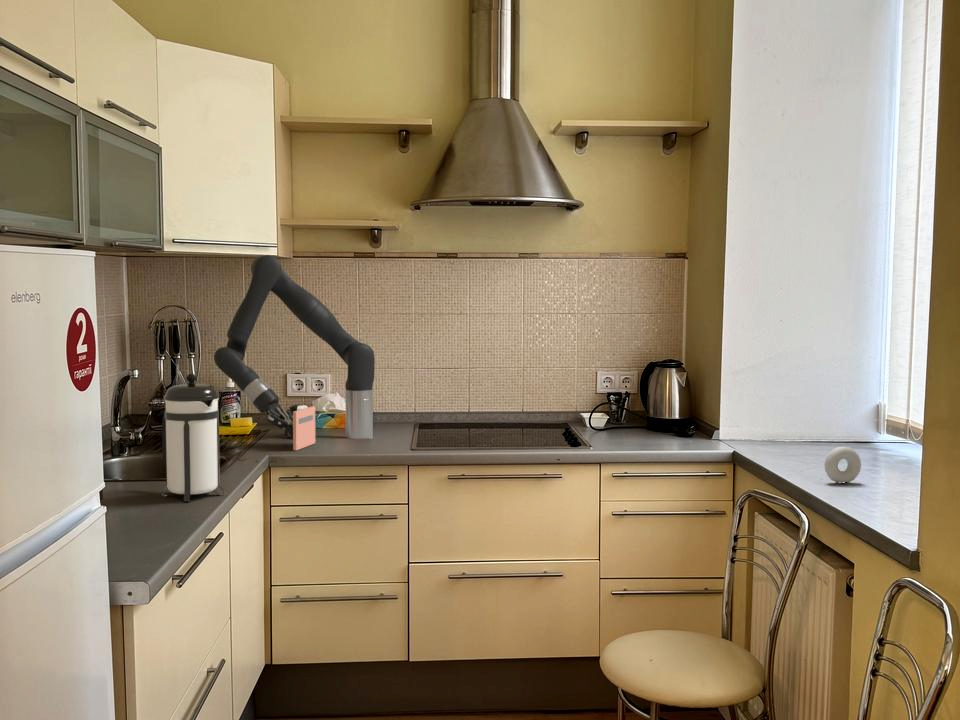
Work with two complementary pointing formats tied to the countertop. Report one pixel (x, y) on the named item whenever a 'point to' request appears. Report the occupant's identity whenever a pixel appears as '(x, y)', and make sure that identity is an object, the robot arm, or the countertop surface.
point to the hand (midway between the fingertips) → (296, 435)
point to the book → (303, 428)
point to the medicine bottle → (292, 409)
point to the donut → (852, 466)
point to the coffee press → (191, 439)
